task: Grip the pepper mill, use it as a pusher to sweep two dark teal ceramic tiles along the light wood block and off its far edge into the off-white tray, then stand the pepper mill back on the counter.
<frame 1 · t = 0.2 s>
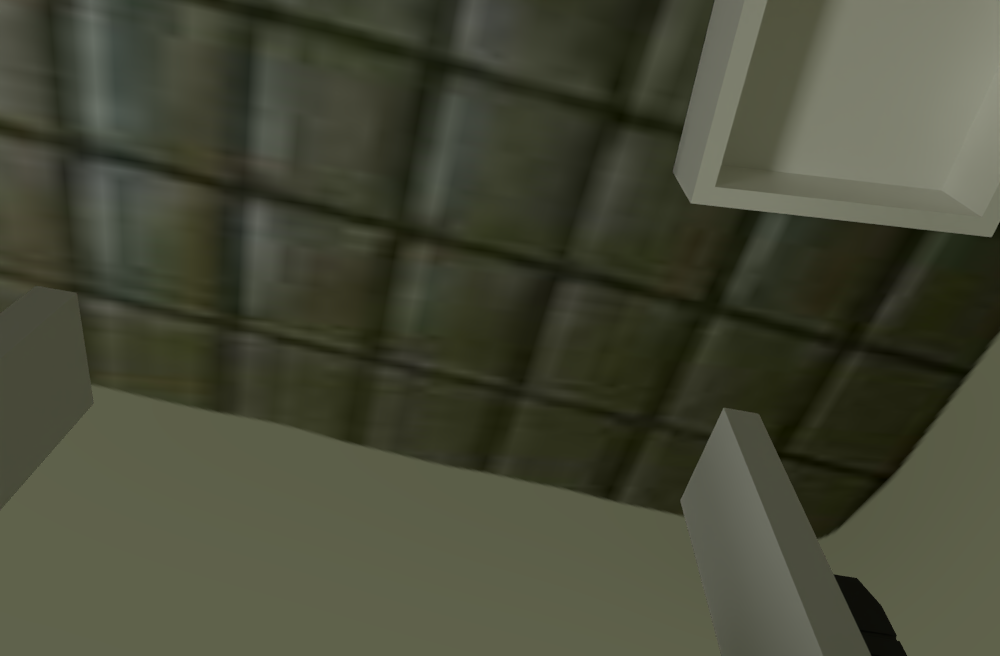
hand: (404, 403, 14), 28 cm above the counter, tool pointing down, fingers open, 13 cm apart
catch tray: (852, 61, 36), on the counter
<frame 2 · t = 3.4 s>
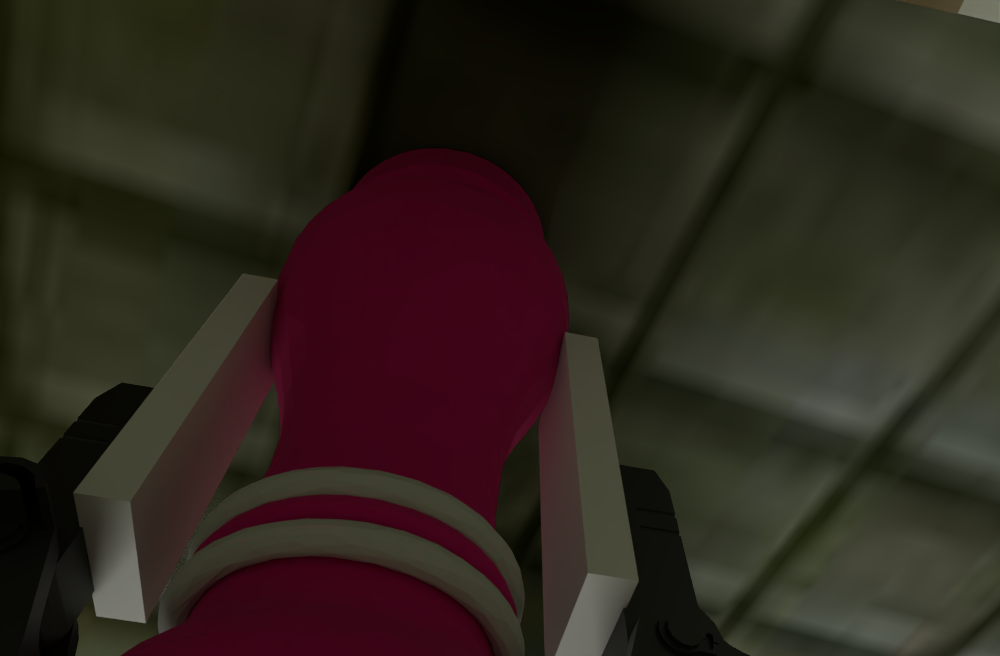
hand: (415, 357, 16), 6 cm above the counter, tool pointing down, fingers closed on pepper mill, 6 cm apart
pepper mill: (442, 244, 21), on the counter, touching gripper
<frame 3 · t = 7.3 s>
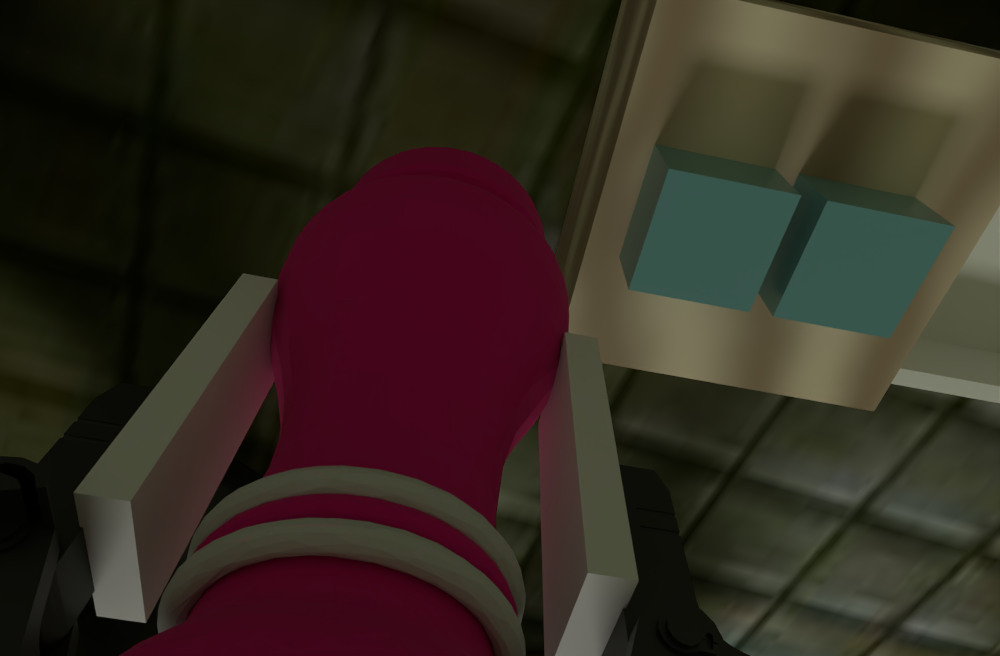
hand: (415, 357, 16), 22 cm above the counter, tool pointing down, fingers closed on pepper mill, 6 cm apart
light wood block: (734, 171, 36), on the counter
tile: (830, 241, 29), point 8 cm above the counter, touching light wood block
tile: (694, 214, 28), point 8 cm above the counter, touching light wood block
pepper mill: (442, 243, 21), point 16 cm above the counter, touching gripper
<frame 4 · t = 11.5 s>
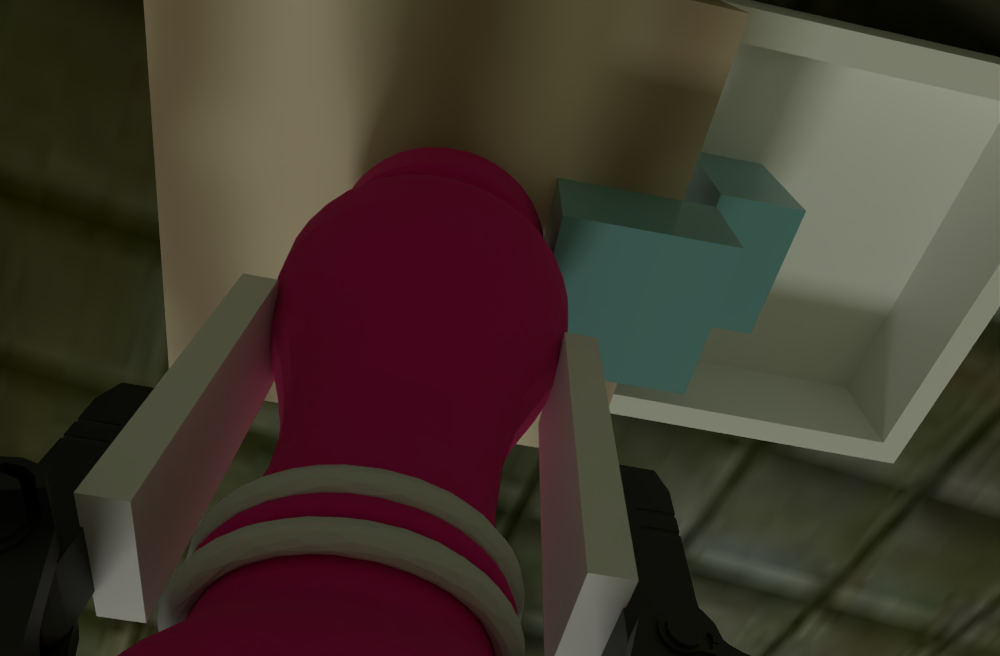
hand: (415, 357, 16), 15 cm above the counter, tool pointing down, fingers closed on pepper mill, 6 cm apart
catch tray: (780, 222, 30), on the counter
light wood block: (439, 152, 28), on the counter
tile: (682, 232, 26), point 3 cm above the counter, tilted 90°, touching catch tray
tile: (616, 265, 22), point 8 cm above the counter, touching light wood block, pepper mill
pepper mill: (442, 243, 21), point 9 cm above the counter, touching gripper, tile
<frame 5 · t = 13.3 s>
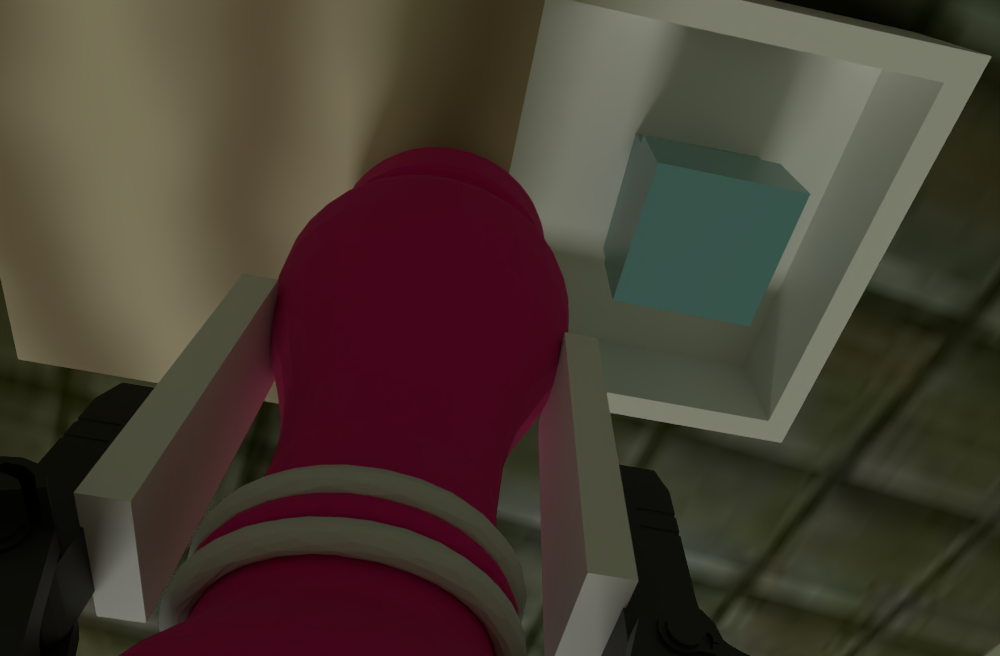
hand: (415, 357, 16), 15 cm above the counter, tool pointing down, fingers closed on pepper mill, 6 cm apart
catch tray: (663, 196, 29), on the counter
light wood block: (310, 125, 28), on the counter
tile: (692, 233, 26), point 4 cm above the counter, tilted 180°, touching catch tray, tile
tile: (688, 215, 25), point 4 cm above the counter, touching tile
pepper mill: (442, 243, 21), point 9 cm above the counter, touching gripper
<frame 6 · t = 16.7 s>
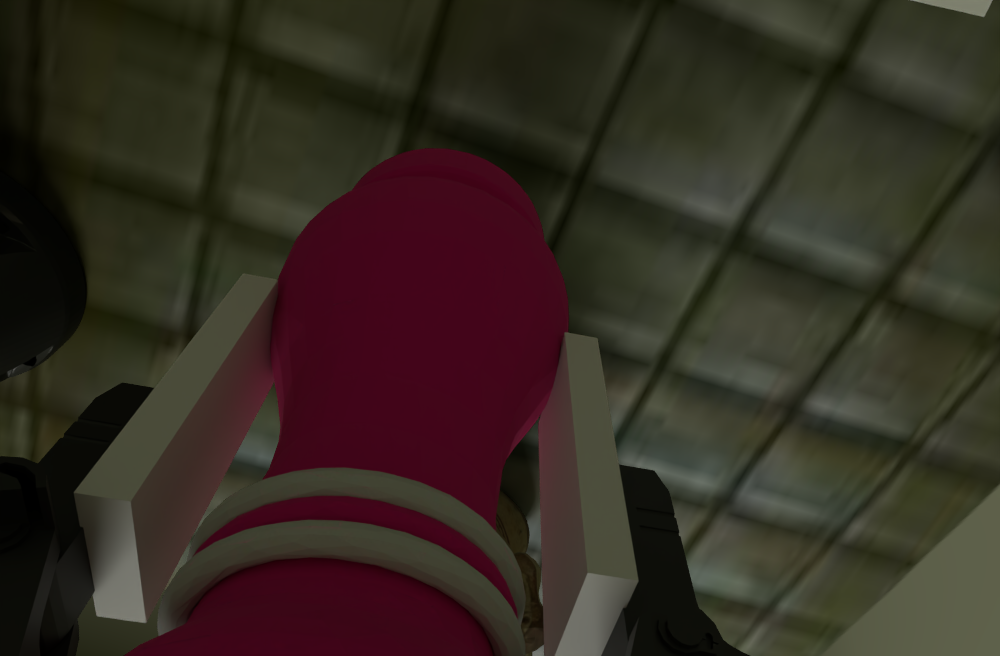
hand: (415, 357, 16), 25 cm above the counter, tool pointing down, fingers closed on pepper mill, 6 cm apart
ceramic vessel: (407, 500, 53), on the counter
pepper mill: (442, 244, 21), point 19 cm above the counter, touching gripper
when the fingers open (7 cm above the counter, at t = 20.0 s): pepper mill drops 1 cm, on the counter.
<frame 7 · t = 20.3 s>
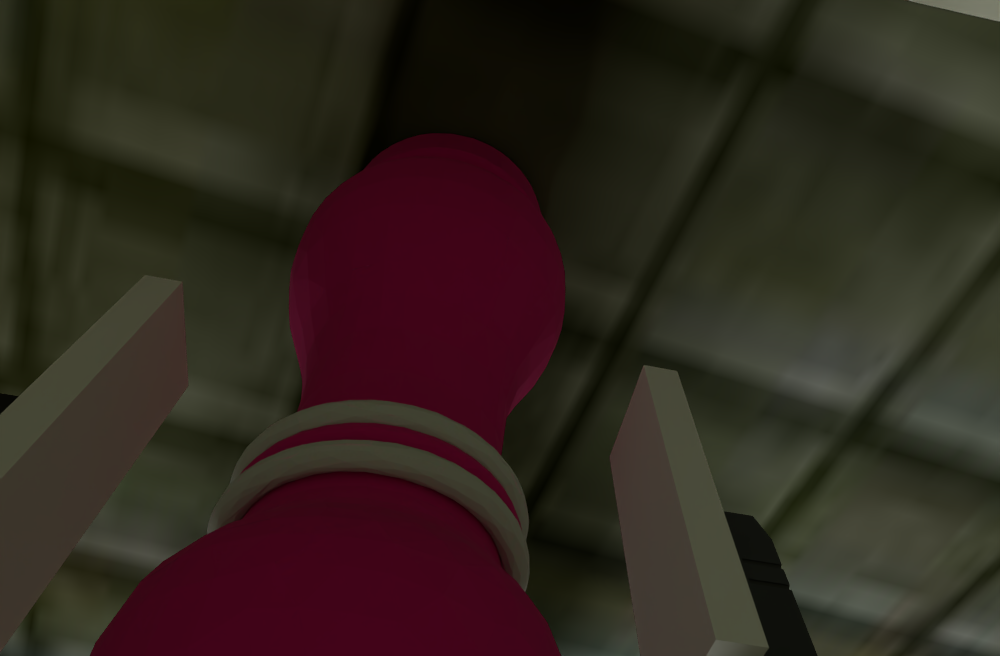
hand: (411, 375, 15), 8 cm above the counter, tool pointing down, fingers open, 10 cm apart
pepper mill: (446, 225, 22), on the counter
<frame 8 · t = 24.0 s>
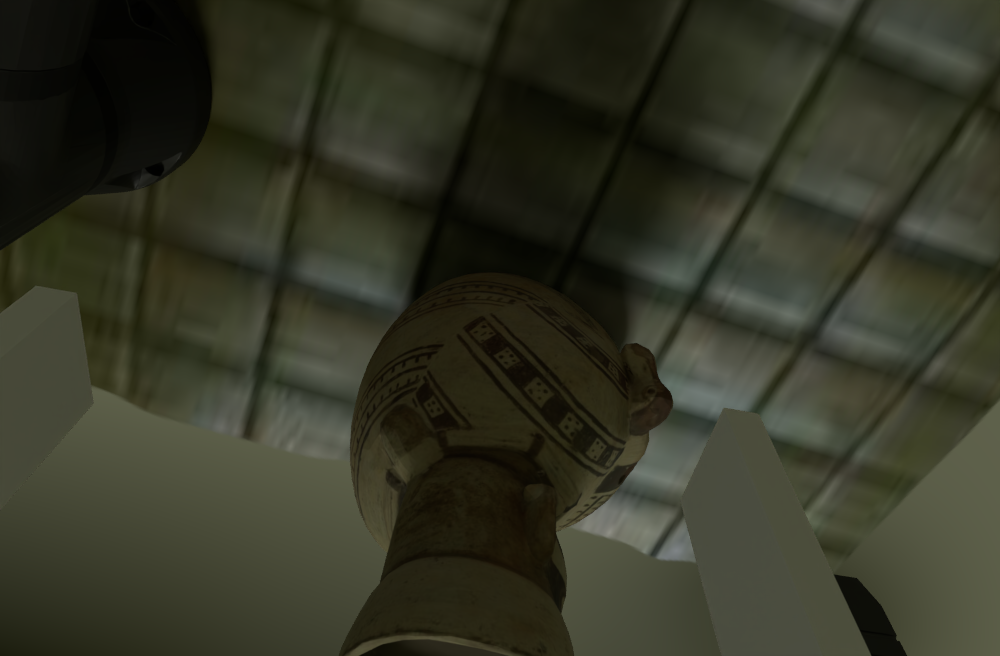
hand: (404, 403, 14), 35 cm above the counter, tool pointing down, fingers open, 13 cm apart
ceramic vessel: (501, 339, 55), on the counter
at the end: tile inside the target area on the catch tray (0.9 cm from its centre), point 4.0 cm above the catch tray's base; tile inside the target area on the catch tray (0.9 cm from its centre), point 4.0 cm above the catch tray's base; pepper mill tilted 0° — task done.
